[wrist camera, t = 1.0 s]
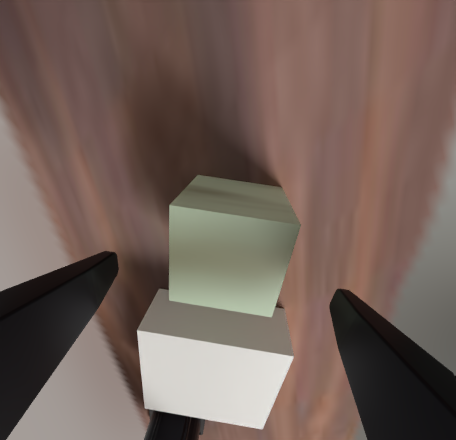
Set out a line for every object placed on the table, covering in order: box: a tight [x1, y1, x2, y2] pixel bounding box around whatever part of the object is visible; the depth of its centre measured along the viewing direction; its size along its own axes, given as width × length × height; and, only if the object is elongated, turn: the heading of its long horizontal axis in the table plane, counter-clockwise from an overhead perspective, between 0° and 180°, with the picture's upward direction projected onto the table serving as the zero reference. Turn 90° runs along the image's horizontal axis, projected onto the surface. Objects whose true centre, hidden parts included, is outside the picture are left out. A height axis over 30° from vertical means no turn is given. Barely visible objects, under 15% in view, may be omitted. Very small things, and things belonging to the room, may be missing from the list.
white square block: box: [137, 289, 294, 429], centre depth 17 cm, size 10×10×4 cm
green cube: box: [169, 175, 301, 317], centre depth 11 cm, size 5×5×5 cm
